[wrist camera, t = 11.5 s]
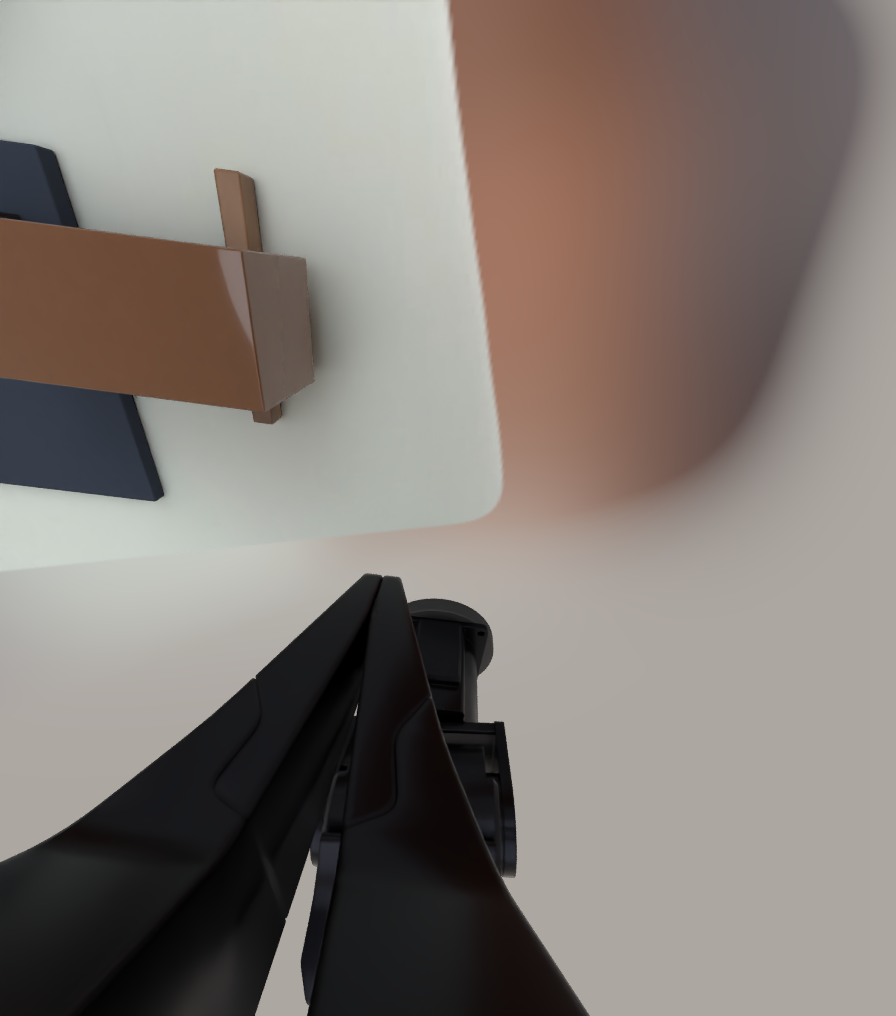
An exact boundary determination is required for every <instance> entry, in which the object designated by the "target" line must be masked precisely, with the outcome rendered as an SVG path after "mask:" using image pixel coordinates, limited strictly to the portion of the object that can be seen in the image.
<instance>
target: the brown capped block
mask: <svg viewBox="0 0 896 1016" xmlns="http://www.w3.org/2000/svg"><path fill="white" fill-rule="evenodd" d="M0 378H7V379H15V380H23V381H30V382H38V383H45V384H53V385H61V386H68V387H76V388H84V389H91V390H99V391H106V392H114V393H122V394H129V395H137V396H144V397H152V398H160V399H167V400H175V401H183V402H190V403H198V404H205V405H213V406H221V407H228V408H236V409H244V410H251V411H259V412H266V411H267V410H269V409H271V408H272V407H274V406H275V405H277V404H279V403H280V402H282V401H284V400H285V399H287V398H288V397H290V396H292V395H293V394H295V393H297V392H298V391H300V390H301V389H303V388H305V387H306V386H308V385H309V384H311V383H313V382H314V370H313V355H312V341H311V327H310V313H309V299H308V285H307V271H306V259H305V258H302V257H294V256H287V255H280V254H272V253H265V252H257V251H250V250H242V249H235V248H227V247H219V246H212V245H204V244H197V243H189V242H182V241H174V240H166V239H159V238H151V237H144V236H136V235H129V234H121V233H113V232H106V231H98V230H91V229H83V228H76V227H68V226H60V225H53V224H45V223H38V222H30V221H22V220H21V218H20V216H19V215H18V214H12V213H5V212H0Z"/></svg>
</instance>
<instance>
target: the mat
mask: <svg viewBox="0 0 896 1016" xmlns="http://www.w3.org/2000/svg"><path fill="white" fill-rule="evenodd" d="M0 212H5V213H12V214H18V215H19V216H20V218H21V220H22V221H30V222H38V223H45V224H53V225H60V226H68V227H76V228H78V226H77V223H76V220H75V217H74V214H73V211H72V208H71V205H70V201H69V198H68V195H67V192H66V189H65V186H64V183H63V180H62V177H61V173H60V170H59V167H58V164H57V161H56V158H55V155H54V152H53V151H52V150H49V149H46V148H43V147H40V146H36V145H32V144H24V143H17V142H10V141H2V140H0ZM0 483H5V484H13V485H21V486H30V487H38V488H47V489H55V490H63V491H72V492H80V493H88V494H97V495H105V496H113V497H122V498H130V499H139V500H147V501H157V500H158V499H160V498H161V497H162V496H164V494H163V491H162V488H161V485H160V481H159V478H158V475H157V472H156V469H155V466H154V463H153V460H152V457H151V453H150V450H149V447H148V444H147V441H146V438H145V435H144V432H143V429H142V425H141V422H140V419H139V416H138V413H137V410H136V407H135V404H134V401H133V397H132V395H129V394H122V393H114V392H106V391H99V390H91V389H84V388H76V387H68V386H61V385H53V384H45V383H38V382H30V381H23V380H15V379H7V378H0Z"/></svg>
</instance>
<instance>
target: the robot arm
mask: <svg viewBox="0 0 896 1016" xmlns="http://www.w3.org/2000/svg"><path fill="white" fill-rule="evenodd" d="M479 631H482V632H479ZM487 638H488V627H487V626H486V625H484V624H478V623H469V622H461V621H452V620H443V619H435V618H426V617H417V616H411V615H410V611H409V607H408V603H407V600H406V596H405V592H404V589H403V585H402V581H401V579H400V578H399V577H394V576H384V577H382V576H381V575H377V574H364V575H363V576H362V577H361V578H360V579H359V580H358V581H357V582H356V583H355V584H353V585H352V587H350V588H349V589H348V590H347V591H346V592H345V593H344V594H343V595H342V596H341V597H339V598H338V599H337V600H336V601H335V602H334V603H333V604H332V605H331V606H330V607H329V608H328V609H327V610H326V611H325V612H323V613H322V614H321V615H320V616H319V617H318V618H317V619H316V620H315V621H314V622H313V623H312V624H311V625H309V626H308V627H307V628H306V629H305V630H304V631H303V632H302V633H301V634H300V635H299V636H298V637H297V638H295V639H294V640H293V641H292V642H291V643H290V644H289V645H288V646H287V647H286V648H285V649H284V650H283V651H282V652H280V653H279V654H278V655H277V656H276V657H275V658H274V659H273V660H272V661H271V662H270V663H269V664H268V665H267V666H265V667H264V668H263V669H262V670H261V671H260V672H259V673H258V674H257V675H256V679H254V678H253V679H251V680H250V681H249V682H248V683H247V684H246V685H245V686H244V687H243V688H242V689H241V690H239V691H238V692H237V693H236V694H235V695H234V696H233V697H232V698H231V699H230V700H228V701H227V702H226V703H225V704H224V705H223V706H222V707H220V708H219V709H218V710H217V711H216V712H215V713H214V714H213V715H212V716H210V717H209V718H208V719H206V720H205V721H204V722H203V723H202V724H200V725H199V726H198V727H197V728H195V729H194V730H193V731H192V732H191V733H190V734H188V735H187V736H186V737H184V738H183V739H182V740H181V741H179V742H178V743H177V744H176V745H175V746H173V747H172V748H171V749H169V750H168V751H167V752H165V753H164V754H163V755H162V756H160V757H159V758H158V759H157V760H155V761H154V762H153V763H151V764H150V765H149V766H148V767H146V768H145V769H144V770H143V771H141V772H140V773H139V774H137V775H136V776H135V777H134V778H132V779H131V780H130V781H129V782H127V783H126V784H125V785H123V786H122V787H121V788H120V789H119V790H117V791H116V792H114V793H113V794H112V795H111V796H109V797H108V798H107V799H106V800H104V801H103V802H102V803H100V804H99V805H98V806H96V807H95V808H94V809H93V810H91V811H90V812H89V813H87V814H86V815H84V816H83V817H82V818H80V819H79V820H77V821H76V822H74V823H73V824H71V825H70V826H69V827H67V828H65V829H63V830H62V831H60V832H59V833H57V834H55V835H54V836H52V837H50V838H49V839H47V840H45V841H43V842H41V843H39V844H38V845H36V846H34V847H32V848H30V849H28V850H26V851H24V852H22V853H19V854H17V855H16V856H13V857H11V858H9V859H7V860H4V861H2V862H0V1016H255V1013H256V1010H257V1007H258V1004H259V1001H260V998H261V995H262V992H263V989H264V986H265V983H266V980H267V977H268V974H269V971H270V968H271V965H272V962H273V959H274V956H275V953H276V950H277V947H278V944H279V941H280V938H281V935H282V932H283V928H284V926H285V923H286V920H285V918H287V916H288V913H289V910H290V907H291V904H292V901H293V898H294V895H295V892H296V889H297V886H298V883H299V880H300V877H301V874H302V871H303V868H304V865H305V862H306V859H307V856H308V852H309V849H310V854H311V861H312V864H313V865H314V866H316V867H317V874H316V882H315V888H314V896H313V901H312V906H311V912H310V917H309V922H308V927H307V932H306V937H305V942H304V947H303V952H302V957H301V971H302V978H303V986H304V994H305V1000H306V1003H307V1004H308V1005H309V1009H308V1014H307V1016H590V1015H589V1014H588V1013H587V1011H586V1009H585V1008H584V1006H583V1005H582V1003H581V1002H580V1000H579V999H578V997H577V995H576V994H575V992H574V991H573V989H572V988H571V986H570V985H569V983H568V982H567V980H566V979H565V977H564V976H563V974H562V973H561V971H560V970H559V968H558V966H557V965H556V963H555V962H554V961H553V959H552V957H551V956H550V954H549V953H548V951H547V950H546V948H545V947H544V945H543V944H542V942H541V941H540V939H539V937H538V936H537V934H536V933H535V931H534V930H533V928H532V927H531V925H530V924H529V922H528V921H527V919H526V918H525V916H524V915H523V913H522V911H521V910H520V908H519V907H518V905H517V904H516V902H515V901H514V899H513V898H512V896H511V894H510V892H509V891H508V889H507V887H506V885H505V883H504V881H503V879H502V877H509V878H514V877H515V876H516V864H517V863H516V862H517V845H516V820H515V808H514V807H515V806H514V797H513V787H512V780H511V772H510V765H509V758H508V750H507V742H506V735H505V727H504V722H497V721H495V722H494V723H478V707H477V677H478V673H479V670H480V666H481V662H482V658H483V654H484V650H485V646H486V642H487ZM357 705H358V709H357V715H356V716H354V713H355V711H356V708H357ZM501 876H502V877H501Z"/></svg>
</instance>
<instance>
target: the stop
mask: <svg viewBox="0 0 896 1016" xmlns="http://www.w3.org/2000/svg"><path fill="white" fill-rule="evenodd" d="M214 174H215V181H216V187H217V193H218V199H219V206H220V212H221V218H222V224H223V231H224V237H225V243H226V247H227V248H235V249H242V250H250V251H257V252H262V248H261V240H260V232H259V223H258V215H257V207H256V198H255V190H254V181H253V179H252V178H251V177H249V176H247V175H245V174H242V173H240V172H238V171H233V170H225V169H218V168H216V169H214ZM252 413H253V419H254V422H258V423H266V424H273V423H275V422H276V421H277V420H279V419H280V418H281V408H280V403H279V404H277V405H275V406H274V407H272V408H271V409H269V410H267V411H266V412H259V411H252Z"/></svg>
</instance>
